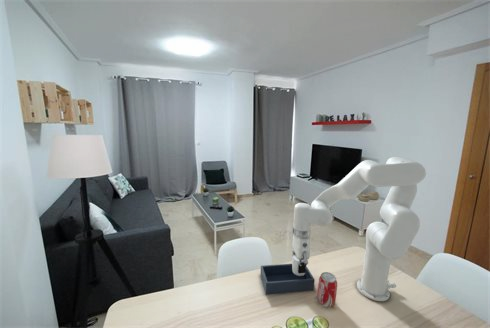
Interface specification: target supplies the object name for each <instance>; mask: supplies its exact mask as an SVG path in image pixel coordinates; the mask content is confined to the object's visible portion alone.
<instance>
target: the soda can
mask: <svg viewBox="0 0 490 328" xmlns="http://www.w3.org/2000/svg"><path fill="white" fill-rule="evenodd" d="M337 291H338V281H337V277H336V276H335V274H333V273H331V272H327V271H324V272H322V273H321V274H320V276H319V277H318V285H317V295H316V296H317V297H316V299H317V302H318V304H319V305H321V306H322V307H323V308H324V307H325V308H327V309H329V308H333V307H334V306H335V304H336V300H337Z"/></svg>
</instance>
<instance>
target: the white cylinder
mask: <svg viewBox="0 0 490 328" xmlns="http://www.w3.org/2000/svg"><path fill="white" fill-rule="evenodd" d="M292 255H293V254H292ZM292 255H291V264H292V271H293V273H294V274H295V275H298V276H302V275H304V274H305V273H298V265H299V259H298V257H297V256H296V254H294V255H293V256H292ZM302 258H303V256H302ZM302 262H304V260H301V263H302Z"/></svg>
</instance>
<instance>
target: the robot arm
mask: <svg viewBox="0 0 490 328" xmlns="http://www.w3.org/2000/svg"><path fill="white" fill-rule="evenodd" d="M426 175H427V170H426V168H425V166H424V165H423V164H421V163H420V162H418V161H416V160H411V159H409V158H407V157H402V156H392V157H389V158H388V159H387V160H386V162H385V163H380V162H377V161H375V160H371V159H365V160H363V161H360V163H358V164H357V165H356V166H355V167H354V168H353V169H352V170H351V171H350V172H349V173H348V174H346V175H345V177H343V178H342V179H341V180H340V181H339V182H338V183H336V184H335V185H332V186H330V187H328V188H326V189H325V190H323V191H322V192H321V193H319V195H318V196H317V197H316V198H315V199H314V200H313V201H312V202H311V203H310V204H309V203H306V202H298V203H295V204H294V207H293V220H292V240H291V248H292V255H291V257H292V256H293V255H294V254H296V256H297V257H298V259H299V265H298V273H305V271H306V266H308V264H309V261H308V260H310V256H311V240H310V238H311V237H310V236H311V229H312V228H311V227H312V224H313V225H316V226H321V227H322V226H323V227H325V226H329V225H330V224H331V223H332V222H333V214H332V212H331V210H330V208H331V207H332V206H333V205H334V204H335V203H338V202H339V201H342V200H354V199H356V198H357V197H358V196H359V195H360V194H361V193H362V192H364V191H365V190H366V189H367V188H368V187H370V186H372V187H377V188H389V187H390V189H389V191H388V192H387V195H386V197H385V200H384V201H383V202H382V205H381V207H380V210H379V216H380V217H381V219H382V220H383V221H384V222H385V223H384V222H382V221H373V222H371V223H370V224H369V225H368V226H367V227H366V231H365V250H364V251H365V252H364V258H363V267H362V272H361V278H359V279H358V280H357V281H356V288H357V290H358V291H359V292H360V293H361V294H362V295H363V296H364V297H366V298H368V299H370V300H372V301H376V302H386V301H388V300H389V299H390V295H391V294H390V291H389V290H390V289H394V288H395V289H396V288H397V284H396V283H395V282H390V280H389V275H390V274H389V273H390V269H391V262H392V260H393V261H394V260H398V259H401V258H402V257H404V255H405V254H406V253H407V252H408V250H409V248H410V247H411V245H412V243H413V241H414V239H415V238H416V236H417V234H418V232H419V230H420V227H421V221H420V217H419V215H418V214H417V213H416V212H415V211H414V210H412V209H411V208H412V205H413V202H414V200H415V198H416V196H417V192H418V184H420V183H421V182H422V181H424V179H425V178H426ZM302 256H303V258H302ZM301 260H304V262H302V263H301Z"/></svg>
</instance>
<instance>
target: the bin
mask: <svg viewBox="0 0 490 328" xmlns="http://www.w3.org/2000/svg"><path fill="white" fill-rule="evenodd" d="M260 280H261V283H262V287H263V290H264V294H265V295H266V296H267V295H278V294H279V295H280V294H289V293H301V292H302V293H303V292H312V291H313V292H314V291H315V278H314V276H313V275H312V272H311V271H310V270H309V268H308V265H306V271H305V274H304V275H302V276H298V275H295V274H294V273H293V271H292V263H280V264H268V265H267V264H266V265H265V264H264V265H260Z"/></svg>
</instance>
